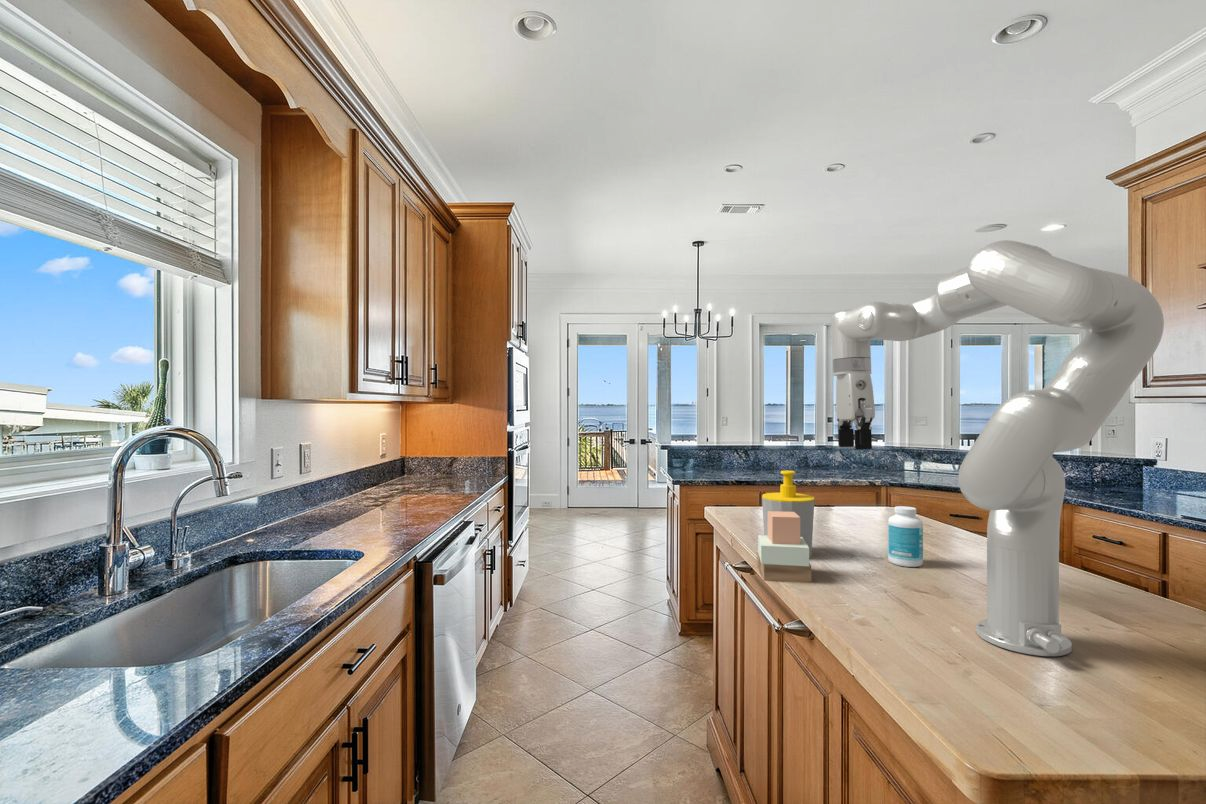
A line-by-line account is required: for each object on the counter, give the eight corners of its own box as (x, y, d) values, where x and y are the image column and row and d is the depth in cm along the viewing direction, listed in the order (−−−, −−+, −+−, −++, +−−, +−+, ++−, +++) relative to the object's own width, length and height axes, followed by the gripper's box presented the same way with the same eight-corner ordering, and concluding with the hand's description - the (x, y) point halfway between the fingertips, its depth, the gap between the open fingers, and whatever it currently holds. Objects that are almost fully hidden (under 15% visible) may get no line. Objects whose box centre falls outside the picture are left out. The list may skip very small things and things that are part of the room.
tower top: (809, 566, 123) (809, 547, 123) (761, 563, 125) (761, 545, 125) (802, 554, 132) (802, 537, 132) (758, 551, 134) (758, 535, 134)
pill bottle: (927, 569, 132) (927, 511, 132) (893, 567, 134) (893, 510, 134) (916, 560, 140) (916, 505, 140) (884, 558, 141) (884, 504, 141)
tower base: (811, 584, 123) (811, 565, 123) (764, 582, 124) (764, 564, 124) (800, 570, 133) (800, 553, 133) (756, 569, 134) (756, 552, 134)
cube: (800, 544, 125) (800, 517, 125) (772, 543, 126) (772, 516, 126) (794, 537, 131) (794, 511, 131) (767, 536, 132) (767, 511, 132)
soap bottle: (820, 551, 148) (819, 470, 148) (808, 563, 137) (808, 475, 137) (769, 544, 155) (769, 467, 155) (755, 555, 144) (755, 472, 144)
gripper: (887, 363, 112) (890, 450, 112) (854, 370, 130) (857, 445, 129) (848, 364, 113) (851, 450, 112) (821, 371, 130) (823, 446, 130)
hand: (854, 448), depth 121 cm, fingers open, 9 cm apart
